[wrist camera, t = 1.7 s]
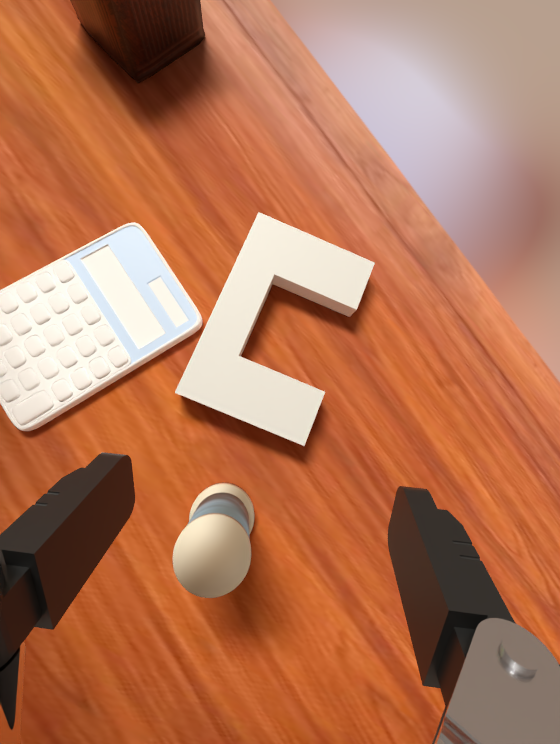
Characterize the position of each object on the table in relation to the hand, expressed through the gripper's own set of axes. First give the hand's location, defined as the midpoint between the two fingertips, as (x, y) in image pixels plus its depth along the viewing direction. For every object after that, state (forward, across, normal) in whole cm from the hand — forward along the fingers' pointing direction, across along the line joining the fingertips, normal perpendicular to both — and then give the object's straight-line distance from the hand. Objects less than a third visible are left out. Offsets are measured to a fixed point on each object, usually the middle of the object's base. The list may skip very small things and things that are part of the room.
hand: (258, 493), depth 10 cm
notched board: (+27, +2, +2) cm, 27 cm away
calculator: (+24, +21, +2) cm, 32 cm away
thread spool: (+17, +5, +18) cm, 25 cm away
